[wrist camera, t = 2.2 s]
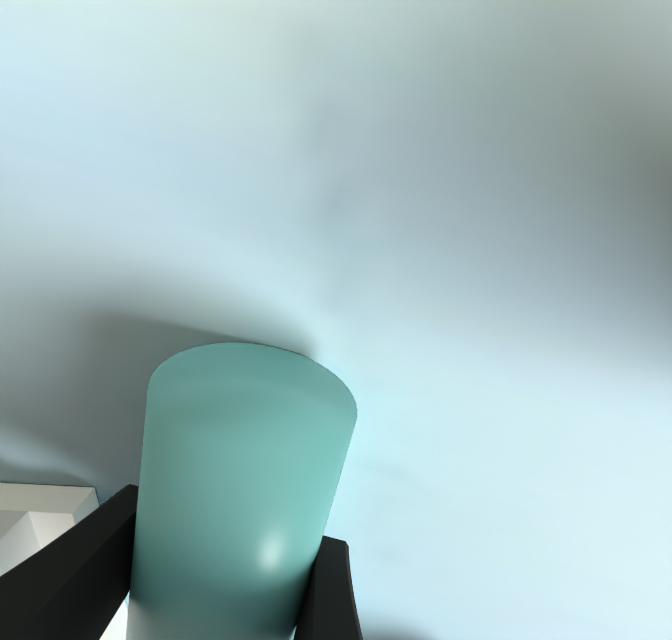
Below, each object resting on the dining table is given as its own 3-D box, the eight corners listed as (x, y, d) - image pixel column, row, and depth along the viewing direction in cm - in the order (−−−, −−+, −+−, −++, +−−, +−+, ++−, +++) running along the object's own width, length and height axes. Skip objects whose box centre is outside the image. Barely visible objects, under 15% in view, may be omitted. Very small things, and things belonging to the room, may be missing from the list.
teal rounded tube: (290, 624, 14) (255, 793, 11) (164, 590, 14) (86, 745, 11) (363, 369, 11) (348, 487, 7) (198, 327, 11) (100, 422, 7)
